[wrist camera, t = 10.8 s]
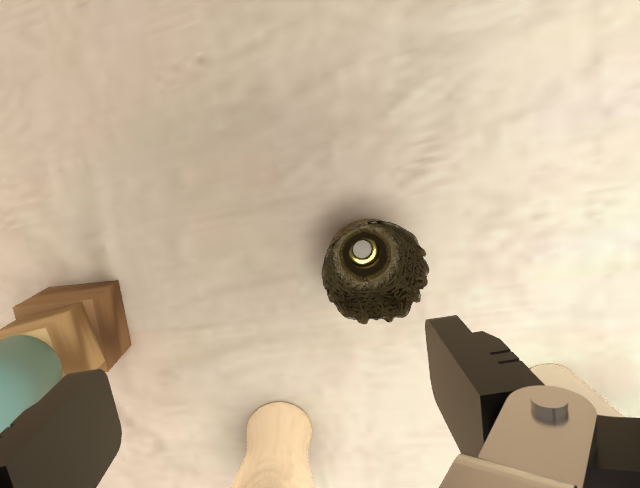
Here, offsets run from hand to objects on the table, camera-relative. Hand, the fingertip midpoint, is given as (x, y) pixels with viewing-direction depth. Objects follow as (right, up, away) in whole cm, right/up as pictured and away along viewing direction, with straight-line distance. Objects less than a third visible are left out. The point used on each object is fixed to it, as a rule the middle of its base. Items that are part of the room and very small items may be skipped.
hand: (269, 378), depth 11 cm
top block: (-19, -4, +24) cm, 31 cm away
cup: (+5, +3, +28) cm, 29 cm away
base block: (-19, -3, +29) cm, 35 cm away
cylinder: (-18, -5, +19) cm, 27 cm away
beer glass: (-3, -14, +32) cm, 35 cm away
